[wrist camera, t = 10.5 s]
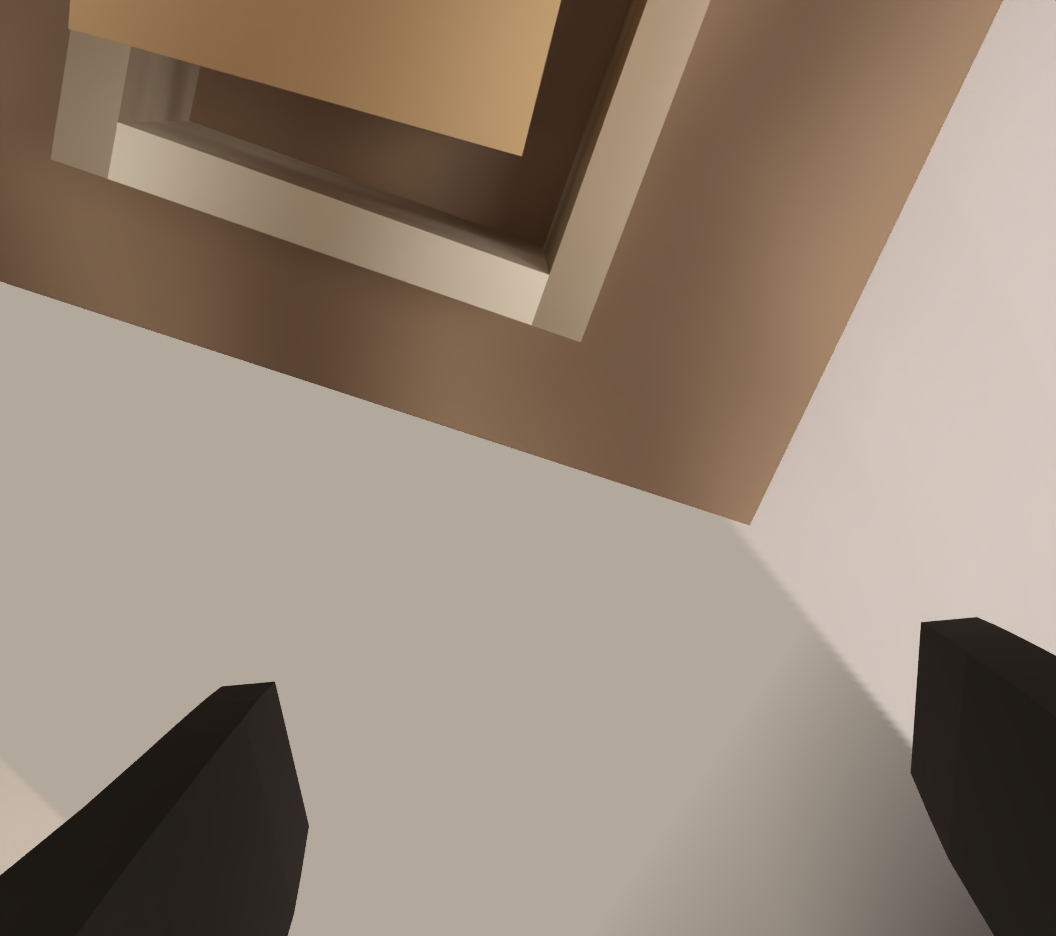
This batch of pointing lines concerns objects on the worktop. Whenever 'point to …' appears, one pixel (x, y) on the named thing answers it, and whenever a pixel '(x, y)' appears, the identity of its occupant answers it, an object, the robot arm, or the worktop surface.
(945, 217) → the worktop surface
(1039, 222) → the worktop surface
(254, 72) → the oak peg
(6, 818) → the worktop surface
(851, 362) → the worktop surface
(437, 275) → the walnut board
